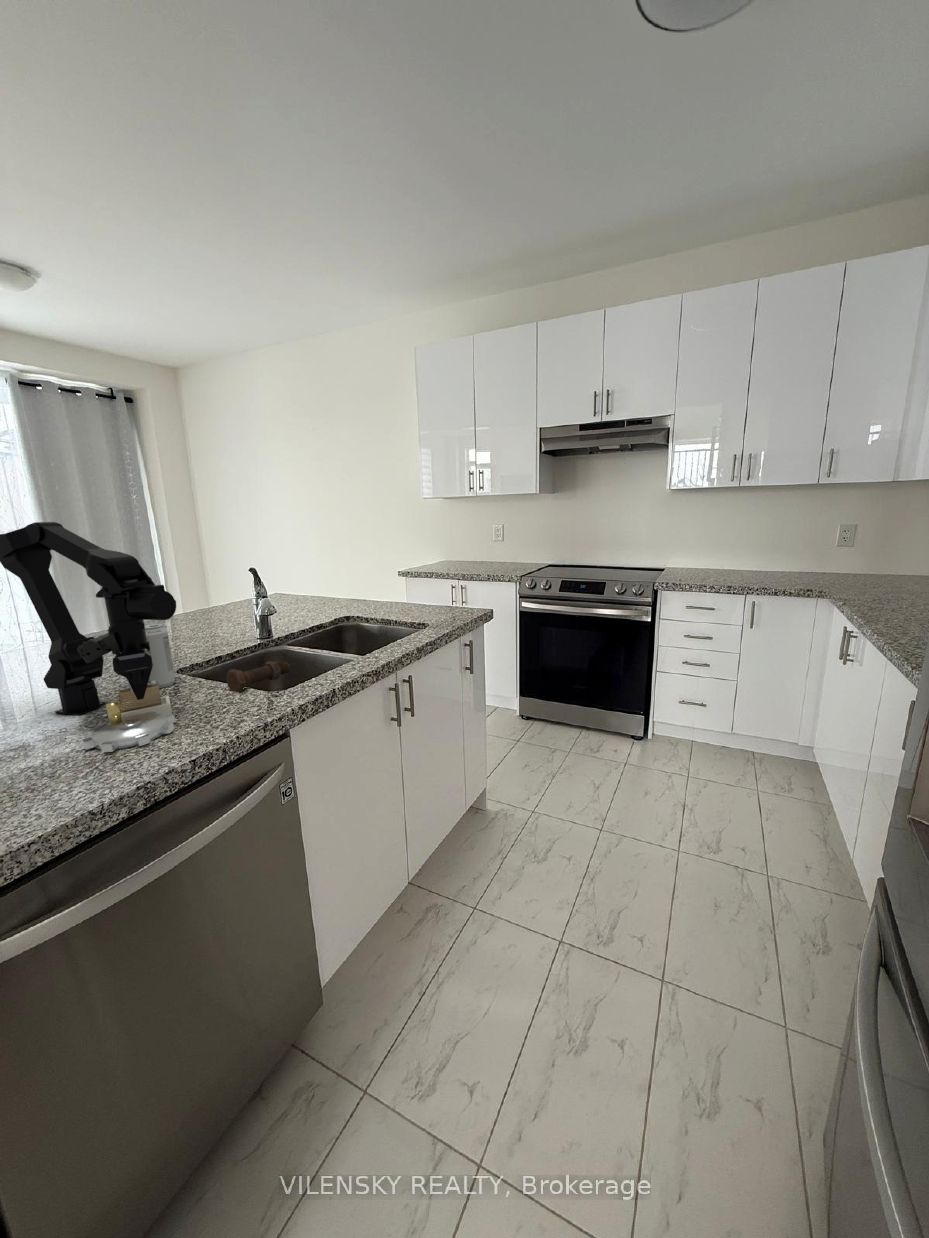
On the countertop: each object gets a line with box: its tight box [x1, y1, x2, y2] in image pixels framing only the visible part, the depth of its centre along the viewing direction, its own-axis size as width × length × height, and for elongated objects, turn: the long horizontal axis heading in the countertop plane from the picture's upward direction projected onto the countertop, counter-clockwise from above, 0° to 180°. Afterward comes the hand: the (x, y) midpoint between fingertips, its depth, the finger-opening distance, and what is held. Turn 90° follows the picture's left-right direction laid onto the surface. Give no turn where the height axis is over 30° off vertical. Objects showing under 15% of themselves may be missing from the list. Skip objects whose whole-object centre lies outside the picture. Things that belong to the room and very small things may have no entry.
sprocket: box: [81, 700, 176, 753], centre depth 93 cm, size 15×15×6 cm
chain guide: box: [119, 695, 173, 717], centre depth 104 cm, size 10×6×2 cm, turn 124°
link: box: [117, 680, 162, 713], centre depth 103 cm, size 7×4×6 cm, turn 124°
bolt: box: [226, 660, 291, 693], centre depth 122 cm, size 6×5×15 cm
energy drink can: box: [142, 623, 176, 689], centre depth 121 cm, size 6×6×15 cm
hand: (140, 692), depth 103 cm, fingers open, 9 cm apart
